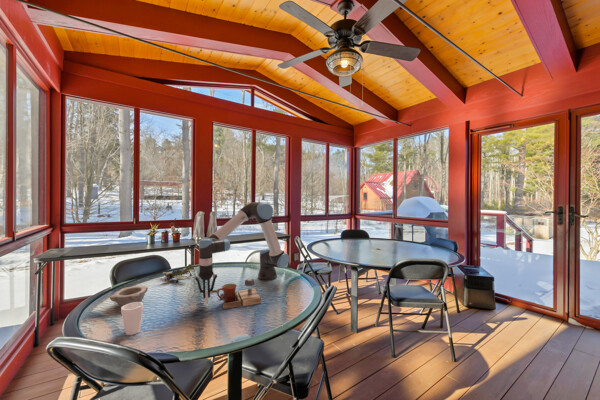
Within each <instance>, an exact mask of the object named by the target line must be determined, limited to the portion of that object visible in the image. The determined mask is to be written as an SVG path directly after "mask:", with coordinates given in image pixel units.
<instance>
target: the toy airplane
mask: <svg viewBox="0 0 600 400" xmlns="http://www.w3.org/2000/svg"><path fill="white" fill-rule="evenodd" d="M195 271H196V270H195V268H194V267H193V265H192V264H191V263H188V265H187V266H186V267H184V268H182V270H181V269H175V270H172V272H170V271H169V272H168V271H163V272H162V275H164V282H171V280H172V279H176V281H175V283H177V282H178V283H179V279H181V280H183V281H184V280H188V277H187V276H185V275H189V276H190V277H191V276H193V275H192V272H195Z"/></svg>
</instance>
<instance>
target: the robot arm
mask: <svg viewBox="0 0 600 400" xmlns="http://www.w3.org/2000/svg"><path fill="white" fill-rule="evenodd" d="M273 215H274V208H273V206H272V205H271V203H268V202H265V201H259V202H257V201H254V202H253V201H252V202H249V203H247V204H246V205H245V206H243V207H242V208H240V209H239V210H238V211H237V213H236V214H235V215H234V216H233V217H232V218H230V219H229V220H228V221H227V222H226V223H224V224H223V225H222V226H221V227H219V228H218V229H217V230H216V231H215V232H213V233H212V234H211V235H210V236H206V237H204V238H202V239H200V240H199V242H198V253H199V254H198V256H199V257H198V259H199V266H198V268H199V273H198V275H197V276H195V277H194V279H195V281H196V282H197V283H196V284H197V285H198V286H197V287H198V289H199V293H200V294H201V293H202V294H203V295H202V296H203V297H202V298H203V299H204V303H205V305H209V298H210V297H211V293H212V292H213V291H214V287H215V283H216V280H217V278H218V274H216V273H214V269H213V262H214V261H213V254H218V253H225V252H228V251H229V250H230V249H231V242H230V240H229V239H228V238H227V237H228V236H229V235H230V234H231V233H233V232H234V231H235V230H236V229H237V228H238V227H240V226H241V225H242V224H243V223H244V222H248V221H249V220H250V219H255V220H256V223H257V224H258V225H260V228H261V231H262V232H263V236H264V239H265V242H266V245H267V248H261V249H260V251H259V270H258V273H257V279H259V280H262V281H270V280H274V279H277V277H278V274H277V270H276V268H277V269H285V268H286V267H287V266H288V264H289V262H290V255H289V254H288V253H286V252H285V251H284V248H283V247H281V245H280V242H279V238H278V236H277V232H276V231H275V230H276V229H275V227H274V225H273V221H272V220H273ZM200 279H201V280H202V285H201V281H200ZM211 279H212V280H211ZM206 281H207V285H206ZM211 281H212V282H211ZM210 282H211V283H210ZM206 286H207V291H206Z"/></svg>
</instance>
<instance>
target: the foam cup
mask: <svg viewBox="0 0 600 400" xmlns="http://www.w3.org/2000/svg"><path fill="white" fill-rule="evenodd" d="M143 312H144V303H143V301H141V302H133V303H129V304H126V305H124V306H122V307H120V313H121V316H122V320H123V322H122V323H123V326H124V332H125V335H127V336H133V335H135V334H138V333H140V331H141V329H142V323H143V322H142V321H143V320H142V319H143Z"/></svg>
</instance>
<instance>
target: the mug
mask: <svg viewBox="0 0 600 400" xmlns="http://www.w3.org/2000/svg"><path fill="white" fill-rule="evenodd" d="M236 289H237V284H236V283H225V284H223V285H222V286H221V287H219V288H218V289H217V290H216V295H217V297H218V298H219V299H220V298H222V299H221V300H223V303H228V302H235V301H237V299H236V291H237V290H236ZM220 291H223V293H224V294H223V293H222V294H223V296H220V293H219V292H220Z"/></svg>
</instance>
